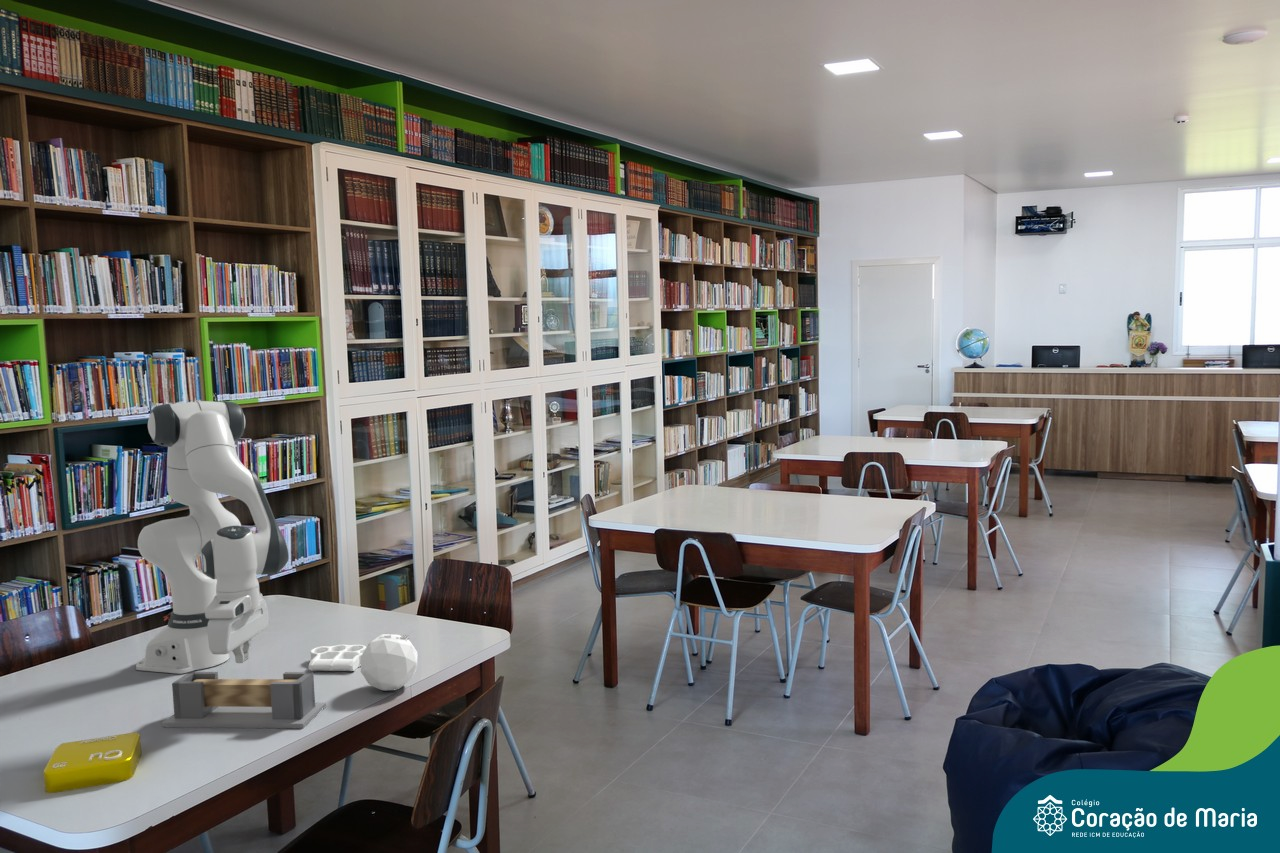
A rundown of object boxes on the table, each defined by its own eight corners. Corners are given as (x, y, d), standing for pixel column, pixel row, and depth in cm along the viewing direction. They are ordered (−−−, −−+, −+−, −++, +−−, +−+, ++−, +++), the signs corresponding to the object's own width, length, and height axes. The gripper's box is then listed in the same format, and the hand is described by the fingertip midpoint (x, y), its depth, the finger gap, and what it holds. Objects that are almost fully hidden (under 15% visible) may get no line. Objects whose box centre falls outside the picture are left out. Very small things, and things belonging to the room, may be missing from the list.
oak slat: (189, 706, 213) (188, 684, 213) (198, 700, 217) (196, 679, 216) (293, 706, 211) (292, 685, 211) (300, 700, 215) (299, 679, 214)
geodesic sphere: (429, 650, 239) (392, 611, 235) (438, 667, 226) (399, 627, 222) (383, 691, 236) (346, 653, 232) (390, 710, 223) (350, 670, 219)
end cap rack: (162, 726, 209) (159, 687, 209) (192, 705, 221) (189, 668, 221) (303, 728, 207) (300, 687, 206) (326, 706, 219) (323, 668, 218)
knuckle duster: (296, 674, 242) (321, 654, 257) (365, 674, 240) (386, 655, 255) (296, 661, 242) (320, 642, 256) (364, 661, 240) (385, 642, 255)
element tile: (142, 750, 198) (141, 728, 198) (132, 781, 184) (130, 757, 184) (59, 763, 193) (57, 740, 192) (42, 796, 179) (40, 771, 178)
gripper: (247, 588, 222) (251, 646, 223) (200, 613, 202) (204, 676, 203) (273, 588, 222) (277, 646, 223) (228, 613, 201) (233, 676, 203)
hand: (242, 661), depth 213 cm, fingers closed
